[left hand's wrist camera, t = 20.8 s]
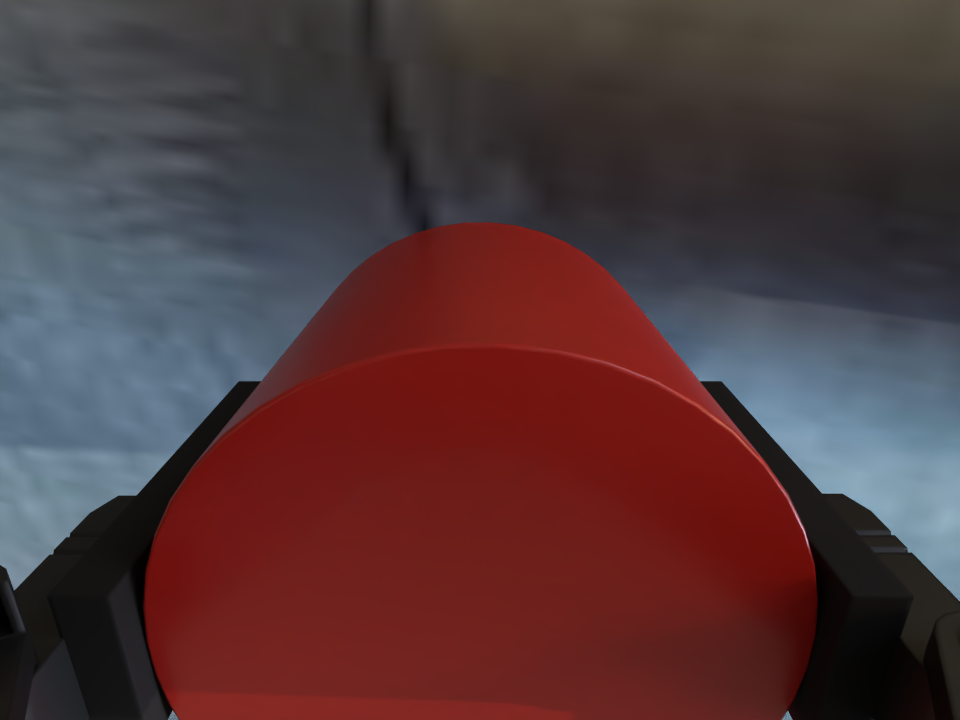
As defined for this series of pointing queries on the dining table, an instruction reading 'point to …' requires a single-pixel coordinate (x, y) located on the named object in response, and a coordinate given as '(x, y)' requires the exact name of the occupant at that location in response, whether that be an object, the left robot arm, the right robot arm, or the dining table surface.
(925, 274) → the dining table surface
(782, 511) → the tin
